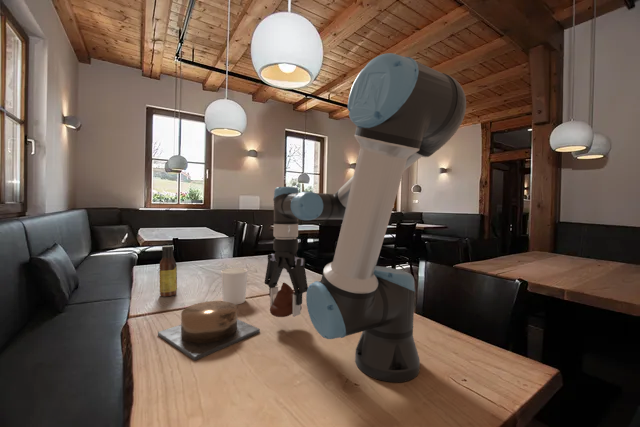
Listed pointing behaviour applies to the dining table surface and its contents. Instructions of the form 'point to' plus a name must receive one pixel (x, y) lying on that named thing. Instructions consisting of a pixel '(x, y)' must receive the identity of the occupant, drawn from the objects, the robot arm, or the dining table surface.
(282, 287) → the poop emoji
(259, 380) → the dining table surface
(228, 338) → the post stand
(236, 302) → the candle holder
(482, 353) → the dining table surface
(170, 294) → the sauce bottle
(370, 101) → the robot arm
